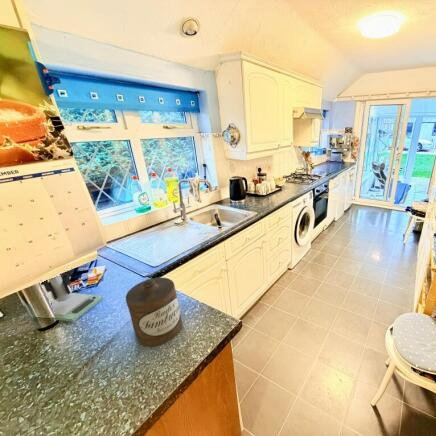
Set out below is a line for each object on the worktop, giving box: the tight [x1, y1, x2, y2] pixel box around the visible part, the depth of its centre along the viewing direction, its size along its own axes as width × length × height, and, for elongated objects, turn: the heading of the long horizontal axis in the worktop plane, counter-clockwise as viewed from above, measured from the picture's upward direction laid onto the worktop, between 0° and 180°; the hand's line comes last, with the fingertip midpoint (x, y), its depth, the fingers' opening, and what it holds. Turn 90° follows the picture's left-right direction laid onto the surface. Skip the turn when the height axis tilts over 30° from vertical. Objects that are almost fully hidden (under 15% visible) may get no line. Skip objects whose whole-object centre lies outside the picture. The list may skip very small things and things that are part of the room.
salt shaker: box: [48, 275, 73, 302], centre depth 91 cm, size 6×6×13 cm
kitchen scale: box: [50, 292, 104, 323], centre depth 94 cm, size 16×13×4 cm
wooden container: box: [125, 277, 183, 348], centre depth 83 cm, size 15×15×22 cm
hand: (62, 295), depth 89 cm, fingers closed on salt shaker, 3 cm apart
